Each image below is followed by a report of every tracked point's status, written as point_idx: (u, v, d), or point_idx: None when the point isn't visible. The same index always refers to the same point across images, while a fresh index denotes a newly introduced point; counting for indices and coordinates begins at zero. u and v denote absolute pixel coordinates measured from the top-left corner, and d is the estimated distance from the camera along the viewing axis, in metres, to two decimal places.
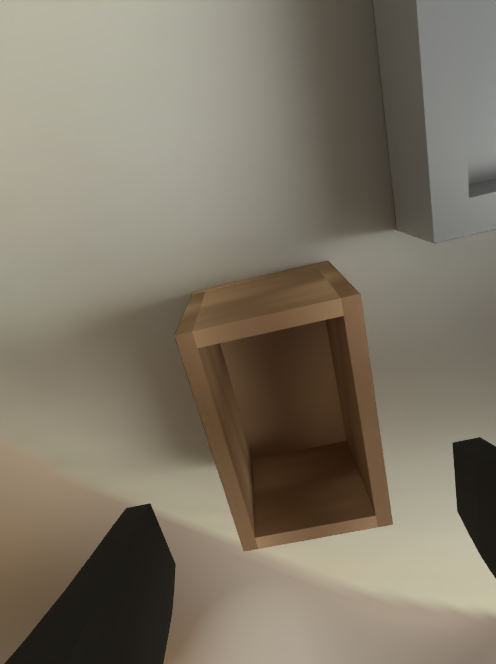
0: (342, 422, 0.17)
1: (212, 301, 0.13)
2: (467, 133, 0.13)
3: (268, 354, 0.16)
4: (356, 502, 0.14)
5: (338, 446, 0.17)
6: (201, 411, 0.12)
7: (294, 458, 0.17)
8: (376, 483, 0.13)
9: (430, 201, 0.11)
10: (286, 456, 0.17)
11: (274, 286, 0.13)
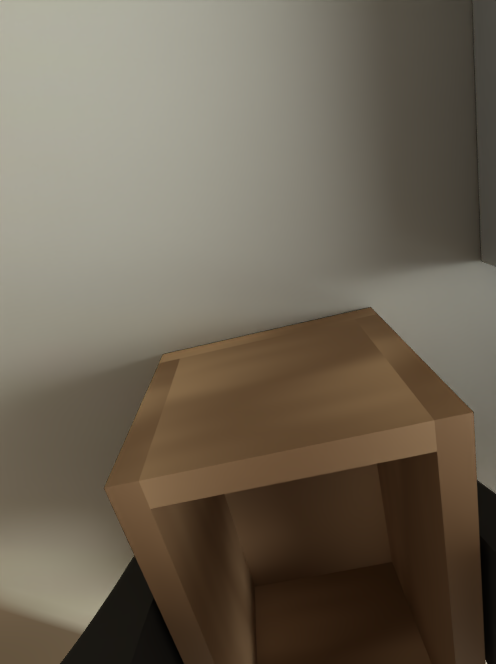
0: (386, 538, 0.11)
1: (187, 387, 0.08)
2: None
3: None
4: None
5: (380, 572, 0.11)
6: (164, 607, 0.06)
7: (316, 591, 0.11)
8: None
9: None
10: (304, 585, 0.12)
11: (291, 362, 0.08)
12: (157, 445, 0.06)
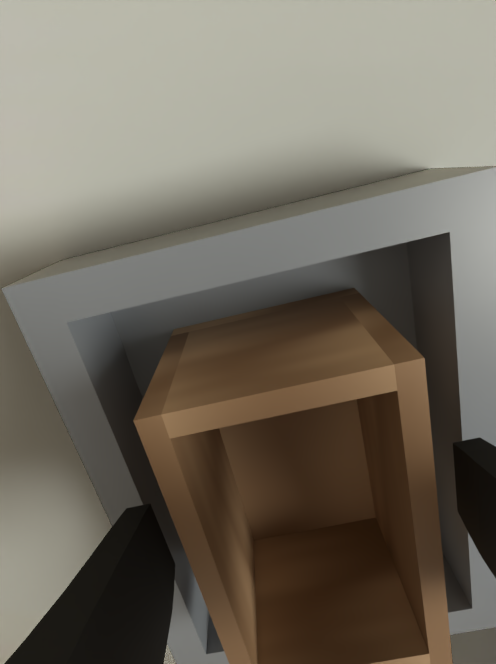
0: (370, 495, 0.13)
1: (197, 352, 0.09)
2: None
3: None
4: (398, 626, 0.10)
5: (365, 526, 0.13)
6: (179, 525, 0.08)
7: (308, 542, 0.13)
8: (432, 614, 0.09)
9: (173, 655, 0.13)
10: (297, 538, 0.13)
11: (284, 330, 0.09)
12: (174, 391, 0.08)
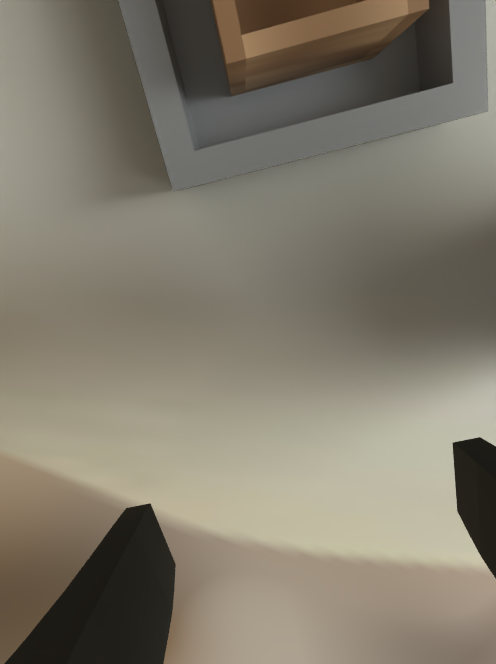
0: None
1: None
2: (223, 99, 0.14)
3: None
4: None
5: None
6: None
7: None
8: None
9: (162, 153, 0.13)
10: None
11: None
12: None
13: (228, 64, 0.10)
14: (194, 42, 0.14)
